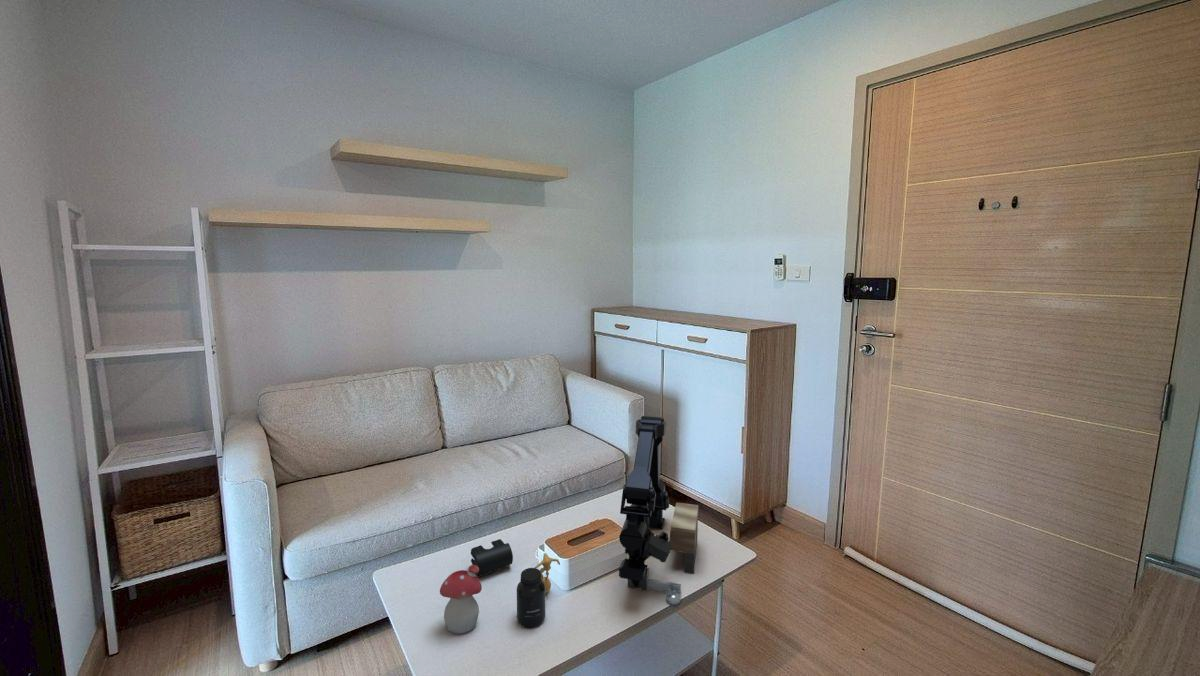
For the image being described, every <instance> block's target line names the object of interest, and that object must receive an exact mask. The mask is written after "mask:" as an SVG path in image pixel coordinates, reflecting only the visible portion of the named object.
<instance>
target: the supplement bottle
mask: <svg viewBox="0 0 1200 676" xmlns="http://www.w3.org/2000/svg"><path fill="white" fill-rule="evenodd" d="M519 580H520V581H519V582H518V584H517V586H516V620H517V622H518V624H519V625H520V626H522V627H523V628H527V629H528V628H529V629H532V628H537V627H539V626H540V625H541V624H543V623H544V621H545V619H546V593H545V584H544V582H543V581H542V580H541V572H540V569H538V568H534V567H528V568H525V569H523V570H522V571H521V573H520V579H519Z"/></svg>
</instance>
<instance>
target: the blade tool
mask: <svg viewBox="0 0 1200 676" xmlns="http://www.w3.org/2000/svg"><path fill="white" fill-rule="evenodd" d="M648 576H649V568H648V567H647V570H646V572H645V577H644V580H643V581H639V586H638V587H636V586H634V585H633V583H632V581H631V579H627V588H631V589H635V590H636V589H637V590H642V591H647V590H650V591H651V590H652V591H657V592H662V593H663V592H664V593H666V592H667V591H668V590H677V591H679V592H680V594H681V591H682V590H681V589H682V584H681V583H676V582H669V581H665V580H659V579H651V578H649V577H648Z"/></svg>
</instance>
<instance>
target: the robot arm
mask: <svg viewBox="0 0 1200 676" xmlns="http://www.w3.org/2000/svg"><path fill="white" fill-rule="evenodd" d="M666 432H667V421H665V418H664V417H662V416H649V415H648V416H647V415H641V416H640V419H639V418H638V419H637V420H636V421H635V435H637V437H638V439H637V444H636V446H637V447H636V452H635V459H634V462H633V463H634V465H633V469H632V471H631V472H630V473H629V474H628V475H627V478H626V482H625V484H624V485H623V487H622V495H621V502H620V512H619V513H620V514H621V515H625V520H624V522H623V525H622V527H621V531H620V533H619V539H618V540H619V543H620V544H621V546H622V547H623V548H624V549H625V550H624V554H626V555H628V558H624V559H623V560H621V562H620V565H619V569H618V576H619V578H620V579H626V580H628V579H631V581H632V583H633V585H634V586H636V587H638V586H639V581H643V580H644V577H645V572H646V570H647V568H648V564H646V563H645V562H646V560H648V559H649V558H650V557H652V558H654V559H656V560H658V561H659V562H661V563H666V561H667V560H668V557H669V555H670V553H671V550H670V549H671V543H670V542H671V541H670V540H669V534H668V533H667V532H666V531H661V532H660V533H658V534H655V533H654V532H653V530H652V529H655V530H663V529H664V524H665V520H666V519H665V517H663V515H664V511H667V509H669V508H670V497H669V495H668V491H666V485H665V483H664V482H663V480H662V479H661V477H660V474H661V473H660V468H661V467H660V466H661V465H660V444H661V443H662V442H663V440H664V436H665V435H666V434H667V433H666ZM626 504H629V505H626Z"/></svg>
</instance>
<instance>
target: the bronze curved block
mask: <svg viewBox="0 0 1200 676" xmlns="http://www.w3.org/2000/svg"><path fill="white" fill-rule="evenodd" d="M698 523H699V505H698V504H692V503H684V502H683V503H682V502H676V503H675V507H674V511H673V515H672V521H671V524H670V528H669V541H671V542H670V543H671V549H670V552H671V551H673V552H679V553H684V573H686V574H691V575H692V574H693V575H694V573H695V567H696V566H695V565H696V559H697V551H698V550H697V549H698V534H699V533H698V531H699V525H698Z"/></svg>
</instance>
